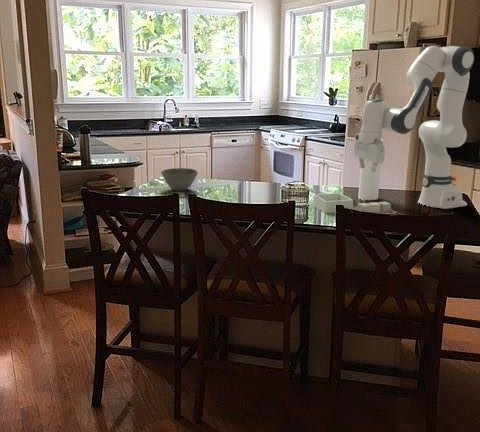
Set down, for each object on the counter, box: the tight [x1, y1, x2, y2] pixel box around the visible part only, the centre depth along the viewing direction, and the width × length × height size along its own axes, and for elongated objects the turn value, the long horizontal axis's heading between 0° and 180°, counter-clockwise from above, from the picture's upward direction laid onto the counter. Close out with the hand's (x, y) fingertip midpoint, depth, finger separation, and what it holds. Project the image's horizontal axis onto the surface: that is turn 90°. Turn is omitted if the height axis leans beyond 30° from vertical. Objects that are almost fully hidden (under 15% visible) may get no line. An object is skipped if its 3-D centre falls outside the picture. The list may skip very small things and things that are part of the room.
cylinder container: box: [357, 138, 384, 201], centre depth 251 cm, size 9×9×30 cm
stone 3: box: [377, 201, 392, 212], centre depth 230 cm, size 4×4×4 cm
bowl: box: [160, 167, 199, 192], centre depth 269 cm, size 19×19×10 cm
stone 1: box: [357, 202, 371, 212], centre depth 228 cm, size 4×4×4 cm
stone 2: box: [367, 201, 381, 212], centre depth 229 cm, size 4×4×4 cm
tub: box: [312, 192, 354, 214], centre depth 235 cm, size 13×13×6 cm
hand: (367, 170), depth 224 cm, fingers open, 8 cm apart
